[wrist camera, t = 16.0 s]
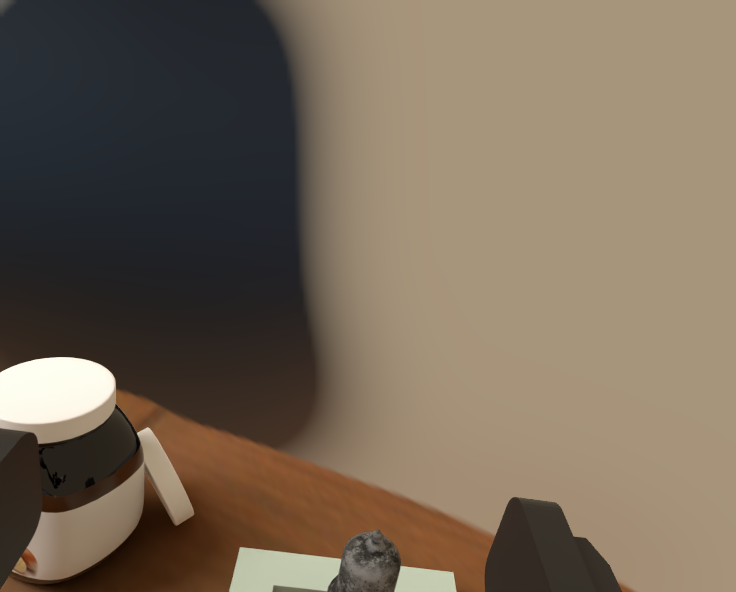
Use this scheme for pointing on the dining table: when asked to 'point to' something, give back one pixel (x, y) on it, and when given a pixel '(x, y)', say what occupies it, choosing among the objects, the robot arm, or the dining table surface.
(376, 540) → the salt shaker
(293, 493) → the dining table surface
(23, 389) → the spread jar
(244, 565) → the light green square frame
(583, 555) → the robot arm
